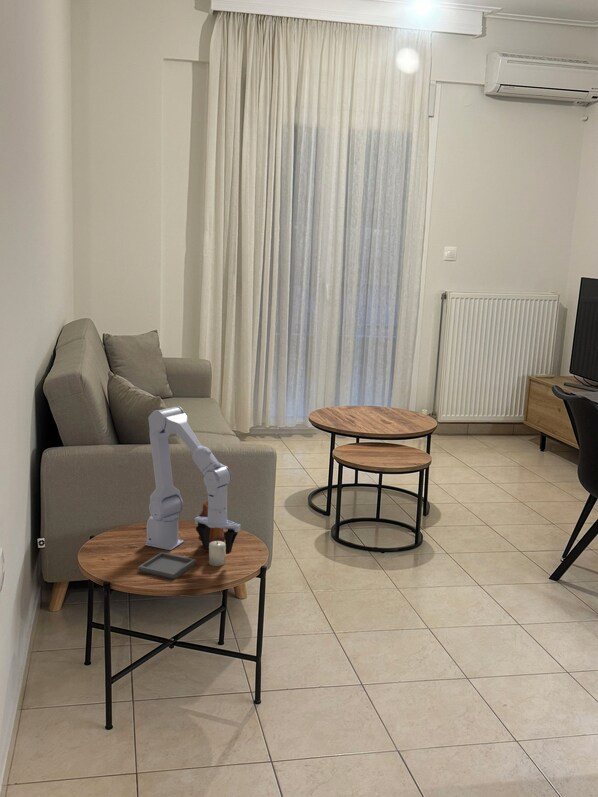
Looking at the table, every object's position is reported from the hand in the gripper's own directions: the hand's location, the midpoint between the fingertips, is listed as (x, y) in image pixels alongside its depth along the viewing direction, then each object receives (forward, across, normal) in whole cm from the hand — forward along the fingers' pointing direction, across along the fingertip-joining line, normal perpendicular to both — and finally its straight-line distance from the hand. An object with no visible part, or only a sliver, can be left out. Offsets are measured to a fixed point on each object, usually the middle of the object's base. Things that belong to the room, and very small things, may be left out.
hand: (217, 550), depth 240 cm
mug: (+4, -8, +13) cm, 16 cm away
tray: (+4, -11, -10) cm, 15 cm away
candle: (+4, 0, 0) cm, 4 cm away
